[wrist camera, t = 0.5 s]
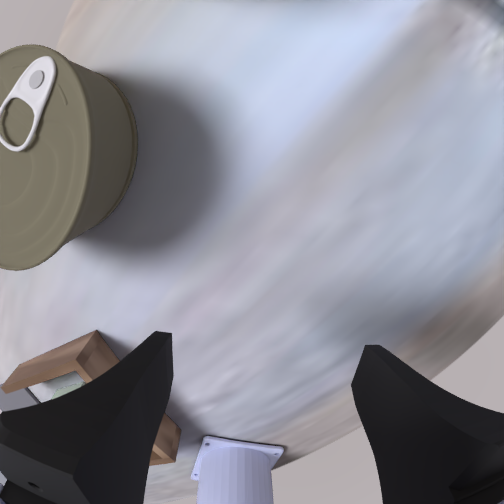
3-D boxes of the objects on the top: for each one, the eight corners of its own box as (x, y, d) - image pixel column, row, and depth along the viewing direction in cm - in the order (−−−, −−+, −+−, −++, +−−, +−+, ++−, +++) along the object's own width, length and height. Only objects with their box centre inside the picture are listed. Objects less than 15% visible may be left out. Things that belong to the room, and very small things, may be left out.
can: (-11, 181, 18) (-70, 198, 11) (56, 44, 15) (-1, 20, 8) (88, 267, 20) (38, 313, 14) (178, 120, 17) (143, 105, 11)
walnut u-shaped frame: (181, 430, 25) (175, 462, 21) (93, 445, 27) (83, 470, 23) (96, 329, 22) (75, 359, 18) (19, 364, 23) (0, 387, 19)
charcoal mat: (76, 439, 27) (75, 441, 26) (36, 443, 28) (35, 444, 27) (18, 377, 24) (16, 379, 23) (-13, 389, 25) (-15, 391, 25)
